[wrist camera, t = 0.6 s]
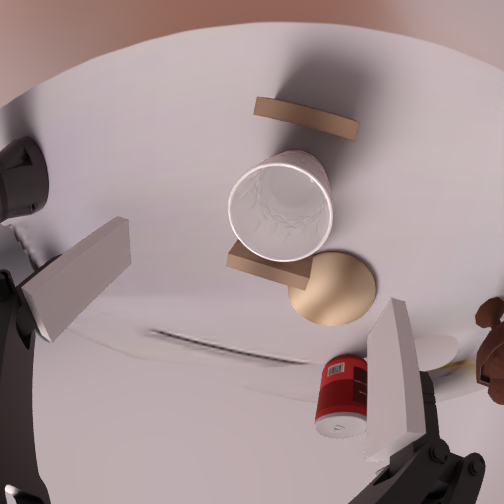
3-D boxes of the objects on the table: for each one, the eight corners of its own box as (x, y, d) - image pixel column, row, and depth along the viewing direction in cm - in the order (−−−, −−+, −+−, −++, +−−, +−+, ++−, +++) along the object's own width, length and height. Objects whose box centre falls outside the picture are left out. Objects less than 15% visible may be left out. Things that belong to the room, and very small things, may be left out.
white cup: (345, 164, 27) (352, 192, 18) (314, 226, 31) (305, 277, 23) (274, 132, 27) (247, 145, 19) (249, 197, 31) (215, 236, 23)
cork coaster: (279, 309, 38) (278, 312, 37) (302, 240, 32) (302, 242, 32) (354, 331, 37) (354, 334, 36) (389, 267, 31) (390, 270, 30)
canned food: (316, 377, 43) (306, 433, 34) (333, 348, 39) (326, 411, 30) (356, 386, 42) (353, 441, 33) (378, 359, 38) (379, 420, 29)
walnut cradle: (246, 235, 34) (226, 266, 28) (274, 98, 25) (256, 96, 19) (311, 254, 33) (305, 290, 27) (352, 119, 24) (359, 123, 18)
